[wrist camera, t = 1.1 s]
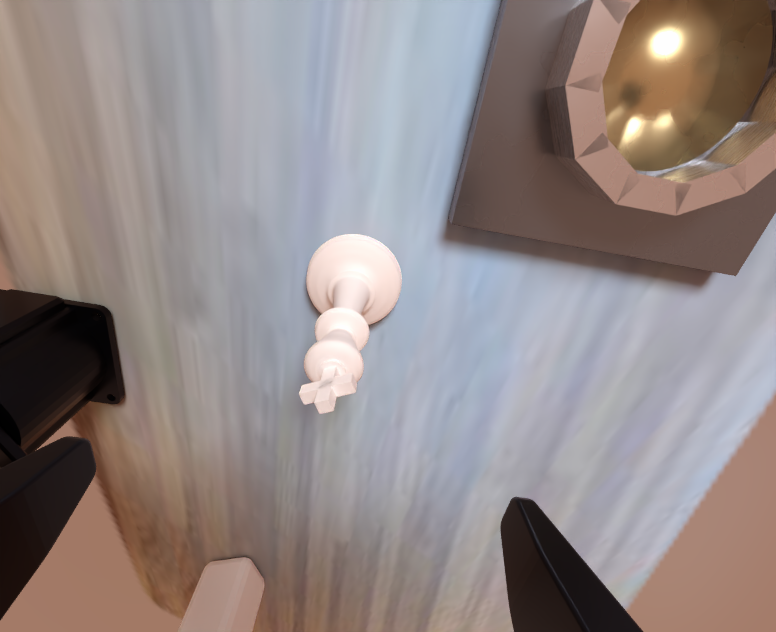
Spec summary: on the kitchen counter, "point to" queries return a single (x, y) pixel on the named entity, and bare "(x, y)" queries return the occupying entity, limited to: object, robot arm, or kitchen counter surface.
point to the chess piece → (346, 312)
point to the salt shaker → (225, 598)
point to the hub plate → (627, 129)
